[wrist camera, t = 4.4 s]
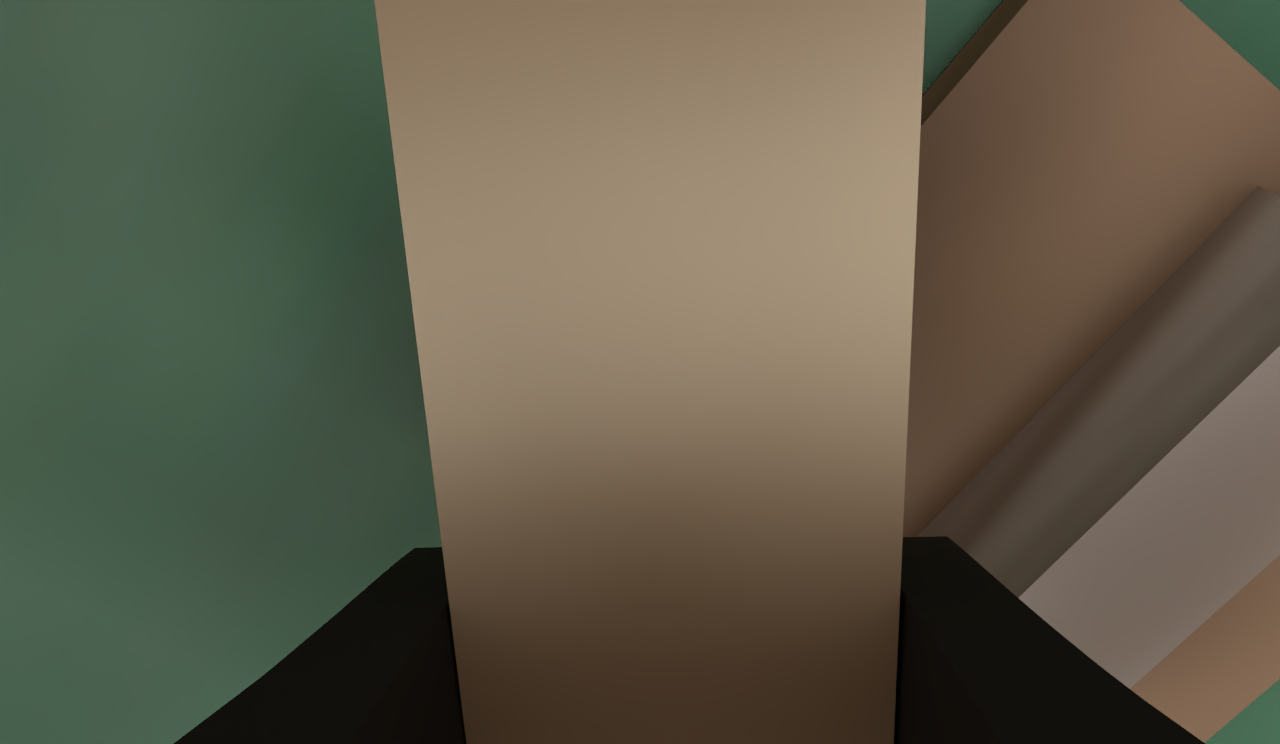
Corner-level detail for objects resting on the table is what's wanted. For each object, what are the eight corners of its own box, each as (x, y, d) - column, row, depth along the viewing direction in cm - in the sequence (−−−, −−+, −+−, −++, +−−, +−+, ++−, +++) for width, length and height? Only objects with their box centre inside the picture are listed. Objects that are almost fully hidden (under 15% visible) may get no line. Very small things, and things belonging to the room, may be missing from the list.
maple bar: (810, 1097, 17) (857, 1556, 12) (598, 1097, 17) (566, 1551, 12) (833, -692, 9) (980, -1253, 5) (451, -663, 9) (227, -1186, 5)
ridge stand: (398, 718, 20) (334, 899, 17) (1068, -78, 16) (1191, -73, 12) (844, 996, 22) (877, 1213, 19) (1566, 366, 17) (1804, 490, 14)
